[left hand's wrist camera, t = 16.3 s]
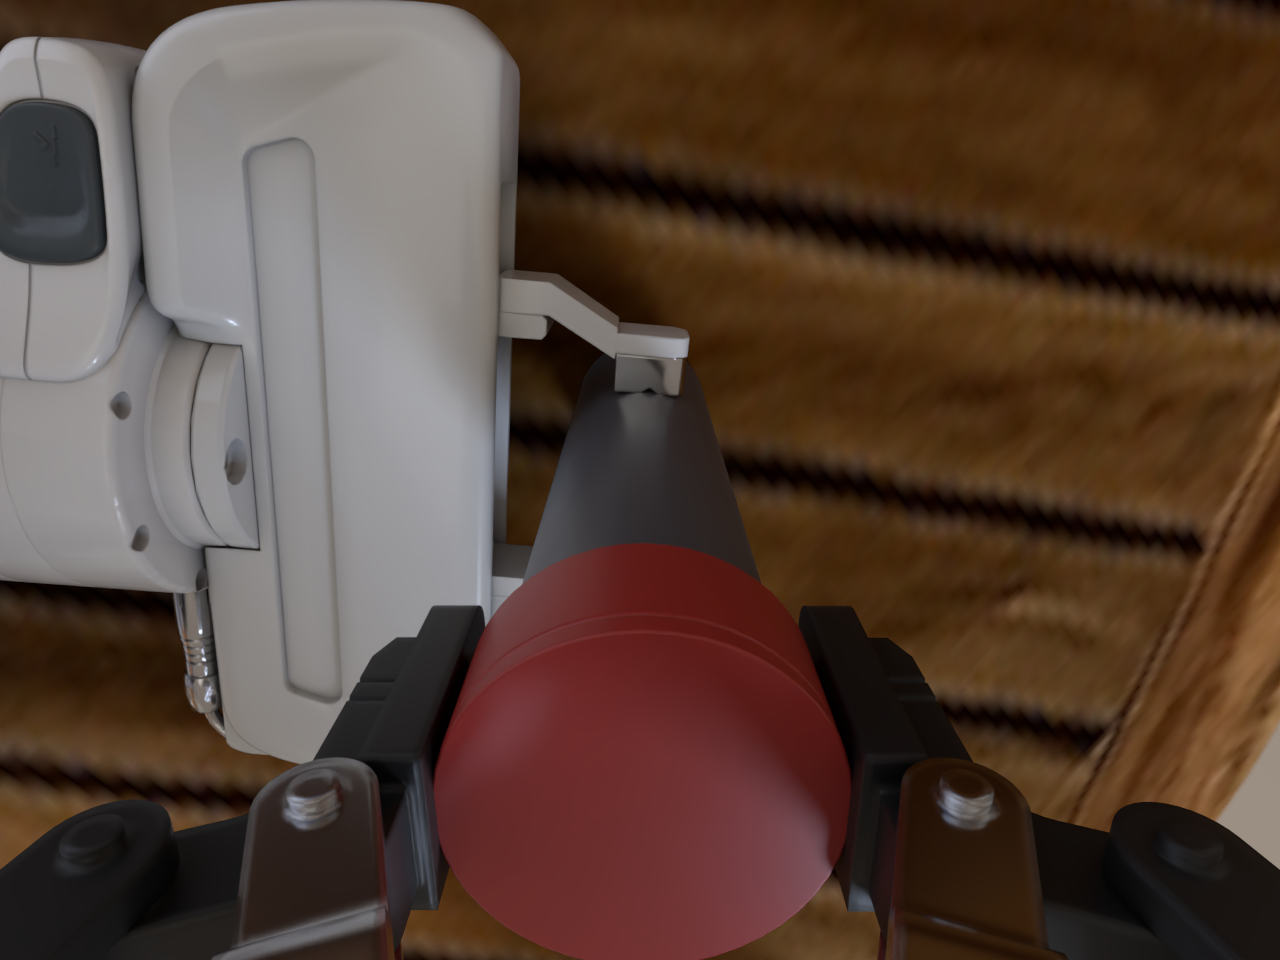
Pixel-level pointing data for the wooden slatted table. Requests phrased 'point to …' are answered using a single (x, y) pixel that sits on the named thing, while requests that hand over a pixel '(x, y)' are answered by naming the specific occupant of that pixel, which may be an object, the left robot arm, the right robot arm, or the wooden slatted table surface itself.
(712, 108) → the wooden slatted table surface
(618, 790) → the lid
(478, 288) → the right robot arm
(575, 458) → the dark gray cylinder
